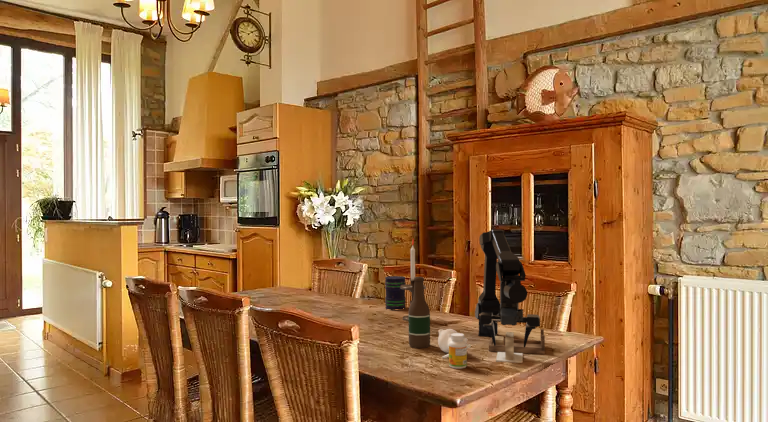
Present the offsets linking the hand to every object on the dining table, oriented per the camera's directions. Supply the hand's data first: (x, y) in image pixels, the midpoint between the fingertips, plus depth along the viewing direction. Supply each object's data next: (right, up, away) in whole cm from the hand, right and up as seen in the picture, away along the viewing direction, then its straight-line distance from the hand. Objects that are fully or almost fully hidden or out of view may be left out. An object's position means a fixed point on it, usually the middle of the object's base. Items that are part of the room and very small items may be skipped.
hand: (509, 346), depth 176 cm
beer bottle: (-28, -4, +16) cm, 32 cm away
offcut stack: (-1, -3, +13) cm, 13 cm away
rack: (+5, -4, +11) cm, 13 cm away
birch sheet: (0, -3, 0) cm, 3 cm away
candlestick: (-28, -4, +62) cm, 68 cm away
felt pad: (0, -4, 0) cm, 4 cm away
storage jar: (-35, -4, +88) cm, 94 cm away
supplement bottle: (-18, -4, -9) cm, 20 cm away
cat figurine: (-18, -4, +5) cm, 19 cm away
